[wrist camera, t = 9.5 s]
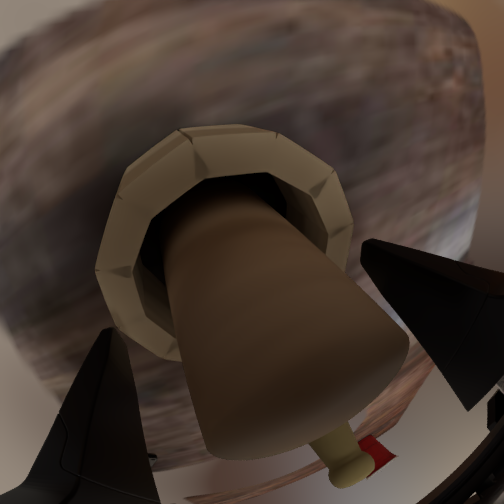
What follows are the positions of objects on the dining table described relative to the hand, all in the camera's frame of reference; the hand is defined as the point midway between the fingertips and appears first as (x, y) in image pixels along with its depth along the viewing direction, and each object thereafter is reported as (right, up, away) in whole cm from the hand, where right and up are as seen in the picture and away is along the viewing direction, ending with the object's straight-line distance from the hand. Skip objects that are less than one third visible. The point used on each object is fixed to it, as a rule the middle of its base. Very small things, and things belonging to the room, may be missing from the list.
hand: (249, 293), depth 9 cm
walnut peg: (-2, +2, +4) cm, 4 cm away
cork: (+7, -18, +20) cm, 27 cm away
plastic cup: (+31, -51, +50) cm, 78 cm away
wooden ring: (-2, +2, +4) cm, 4 cm away
